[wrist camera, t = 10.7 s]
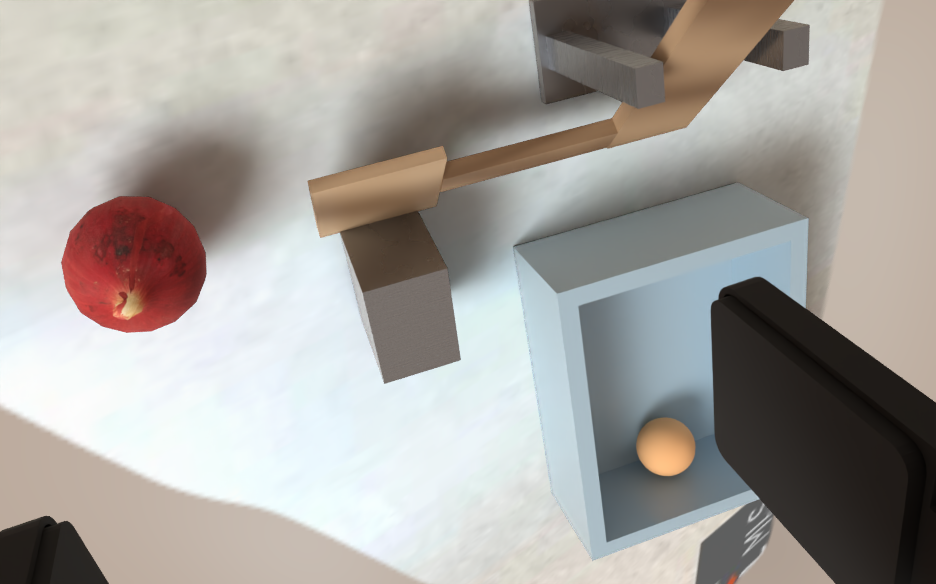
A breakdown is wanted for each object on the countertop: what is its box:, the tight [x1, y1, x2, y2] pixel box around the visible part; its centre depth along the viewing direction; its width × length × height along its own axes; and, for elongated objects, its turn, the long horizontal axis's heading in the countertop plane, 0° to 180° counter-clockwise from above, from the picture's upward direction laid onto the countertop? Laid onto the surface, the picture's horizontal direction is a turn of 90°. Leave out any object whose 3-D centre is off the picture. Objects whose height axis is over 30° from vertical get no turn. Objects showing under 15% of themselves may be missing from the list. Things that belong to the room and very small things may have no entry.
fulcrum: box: [529, 0, 810, 109], centre depth 37 cm, size 5×9×10 cm, turn 100°
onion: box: [61, 196, 206, 333], centre depth 35 cm, size 6×6×8 cm
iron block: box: [340, 211, 461, 384], centre depth 40 cm, size 5×4×6 cm
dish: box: [513, 182, 809, 561], centre depth 47 cm, size 18×14×6 cm
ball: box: [636, 417, 696, 476], centre depth 50 cm, size 4×4×4 cm
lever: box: [308, 0, 794, 238], centre depth 28 cm, size 27×19×3 cm
